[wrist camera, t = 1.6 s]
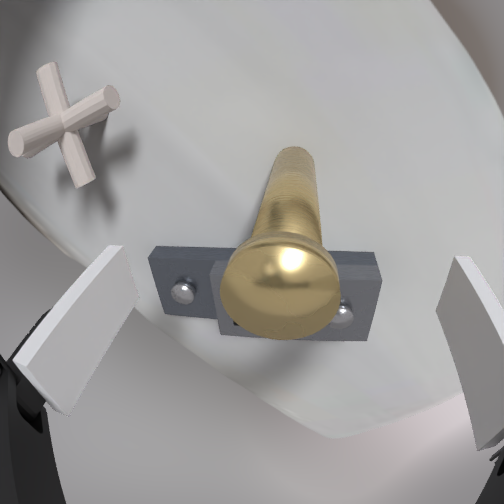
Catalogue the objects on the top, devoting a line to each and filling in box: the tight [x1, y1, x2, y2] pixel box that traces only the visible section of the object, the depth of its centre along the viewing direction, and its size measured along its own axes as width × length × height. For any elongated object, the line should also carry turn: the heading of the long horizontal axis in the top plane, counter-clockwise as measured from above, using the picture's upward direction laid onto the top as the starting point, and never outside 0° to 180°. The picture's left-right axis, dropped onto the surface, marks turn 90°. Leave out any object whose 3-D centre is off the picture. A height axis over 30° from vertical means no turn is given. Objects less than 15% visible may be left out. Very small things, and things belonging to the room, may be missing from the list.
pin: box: [220, 147, 341, 340], centre depth 16 cm, size 4×4×15 cm
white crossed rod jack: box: [8, 62, 120, 188], centre depth 18 cm, size 10×10×10 cm
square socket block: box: [148, 246, 382, 341], centre depth 27 cm, size 7×20×5 cm, turn 94°
